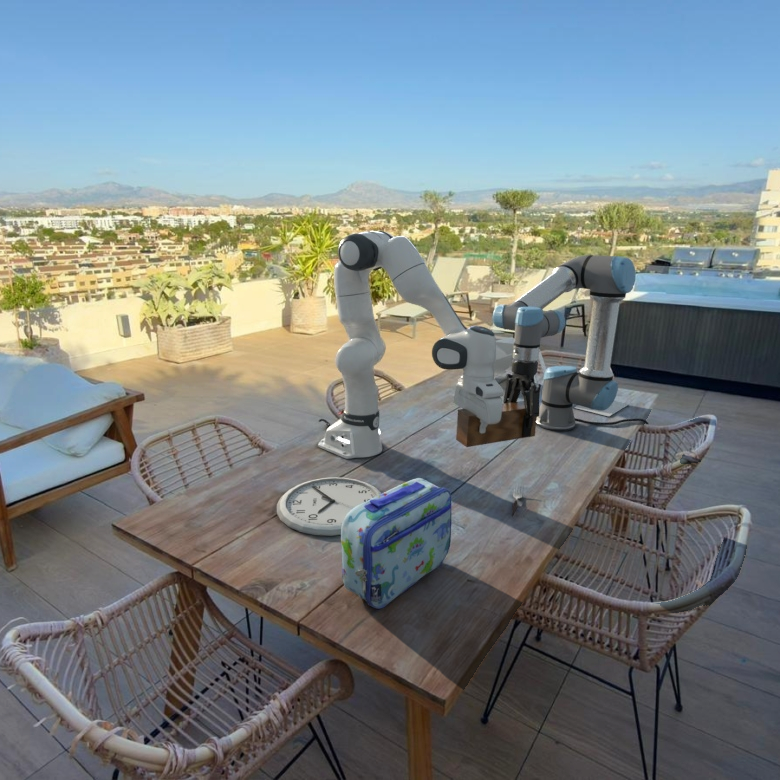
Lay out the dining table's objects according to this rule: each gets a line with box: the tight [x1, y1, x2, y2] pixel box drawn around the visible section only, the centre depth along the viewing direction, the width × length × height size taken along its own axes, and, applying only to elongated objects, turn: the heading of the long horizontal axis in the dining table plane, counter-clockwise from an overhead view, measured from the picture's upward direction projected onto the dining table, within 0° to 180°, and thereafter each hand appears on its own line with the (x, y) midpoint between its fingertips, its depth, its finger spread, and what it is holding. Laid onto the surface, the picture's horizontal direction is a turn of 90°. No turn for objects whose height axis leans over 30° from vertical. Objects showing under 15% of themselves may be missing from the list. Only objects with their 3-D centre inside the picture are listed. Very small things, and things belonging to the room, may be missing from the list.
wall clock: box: [276, 476, 383, 537], centre depth 142 cm, size 30×2×30 cm
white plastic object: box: [493, 336, 547, 384], centre depth 260 cm, size 37×45×31 cm
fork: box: [511, 484, 525, 517], centre depth 145 cm, size 3×16×2 cm, turn 160°
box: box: [455, 400, 537, 448], centre depth 158 cm, size 24×6×10 cm, turn 113°
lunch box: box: [340, 477, 452, 610], centre depth 110 cm, size 26×11×21 cm, turn 134°
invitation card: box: [573, 400, 629, 418], centre depth 226 cm, size 21×1×15 cm
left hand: (474, 428), depth 155 cm, fingers closed on box, 6 cm apart
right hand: (518, 431), depth 162 cm, fingers open, 7 cm apart
